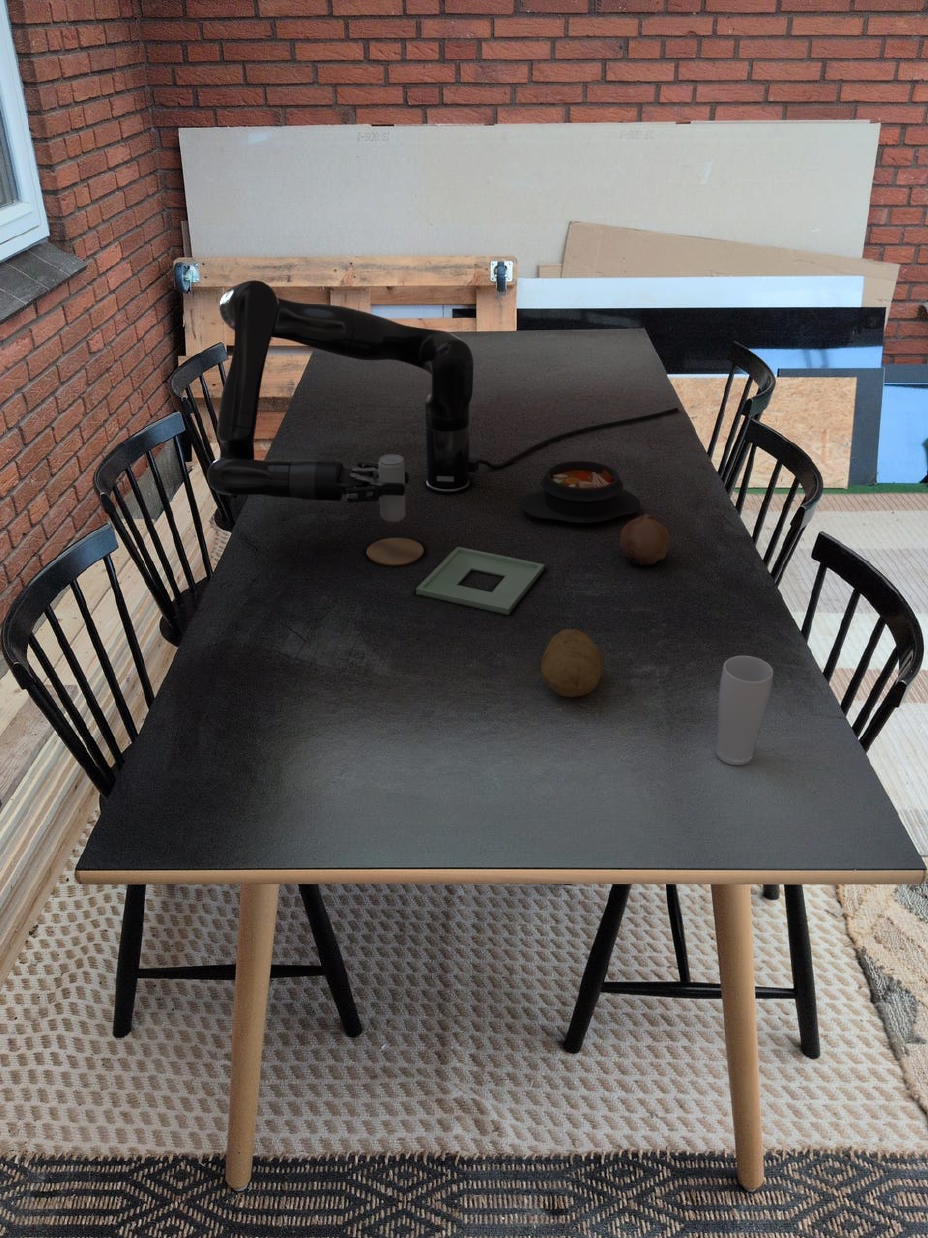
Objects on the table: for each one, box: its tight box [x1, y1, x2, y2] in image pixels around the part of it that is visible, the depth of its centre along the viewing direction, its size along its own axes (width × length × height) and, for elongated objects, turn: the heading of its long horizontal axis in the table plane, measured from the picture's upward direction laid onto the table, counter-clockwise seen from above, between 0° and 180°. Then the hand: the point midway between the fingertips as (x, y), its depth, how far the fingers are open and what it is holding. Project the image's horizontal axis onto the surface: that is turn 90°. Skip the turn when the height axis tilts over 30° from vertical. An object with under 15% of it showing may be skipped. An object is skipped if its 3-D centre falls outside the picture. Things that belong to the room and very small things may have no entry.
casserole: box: [520, 460, 641, 524], centre depth 215 cm, size 25×19×8 cm
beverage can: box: [377, 453, 407, 523], centre depth 194 cm, size 5×5×12 cm
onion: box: [619, 513, 671, 567], centre depth 196 cm, size 10×9×10 cm
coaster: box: [366, 537, 424, 566], centre depth 201 cm, size 11×11×1 cm
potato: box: [540, 628, 604, 698], centre depth 161 cm, size 10×14×8 cm
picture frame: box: [415, 546, 545, 616], centre depth 191 cm, size 18×18×1 cm
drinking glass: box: [714, 655, 774, 766], centre depth 144 cm, size 7×7×15 cm
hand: (406, 483), depth 193 cm, fingers closed on beverage can, 5 cm apart
